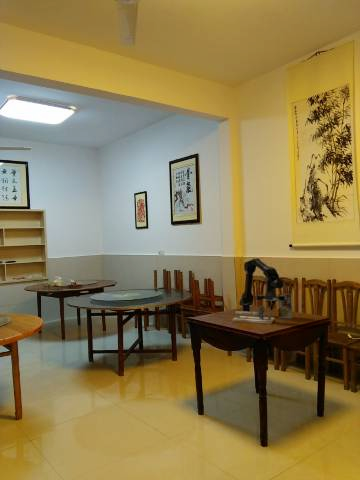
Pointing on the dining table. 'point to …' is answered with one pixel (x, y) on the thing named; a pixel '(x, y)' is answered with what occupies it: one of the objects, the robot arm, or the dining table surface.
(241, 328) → the dining table surface
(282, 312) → the coffee box
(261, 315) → the dark angular block
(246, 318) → the pipe stand
